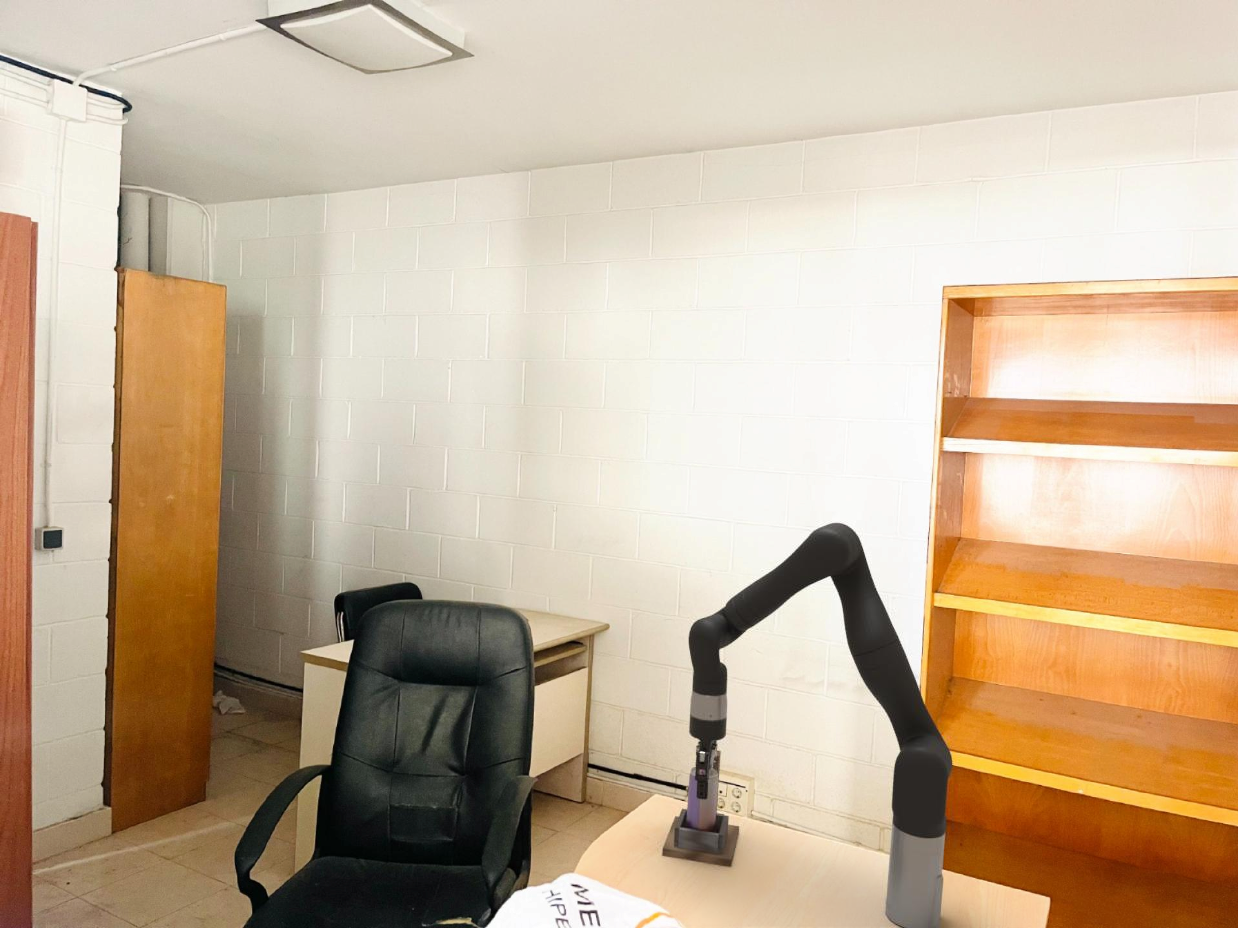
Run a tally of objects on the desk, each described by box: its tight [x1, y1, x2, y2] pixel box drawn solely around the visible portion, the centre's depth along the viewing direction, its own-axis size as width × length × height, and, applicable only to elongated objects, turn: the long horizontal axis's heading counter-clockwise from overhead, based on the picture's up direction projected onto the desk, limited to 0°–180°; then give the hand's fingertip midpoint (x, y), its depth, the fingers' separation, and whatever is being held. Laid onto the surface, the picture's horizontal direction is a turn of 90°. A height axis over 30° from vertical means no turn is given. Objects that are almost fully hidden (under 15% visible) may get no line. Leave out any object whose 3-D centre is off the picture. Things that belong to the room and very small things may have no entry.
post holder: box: [661, 749, 740, 868], centre depth 191 cm, size 14×15×18 cm
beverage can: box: [686, 766, 719, 833], centre depth 189 cm, size 6×6×15 cm
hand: (704, 790), depth 188 cm, fingers open, 8 cm apart
